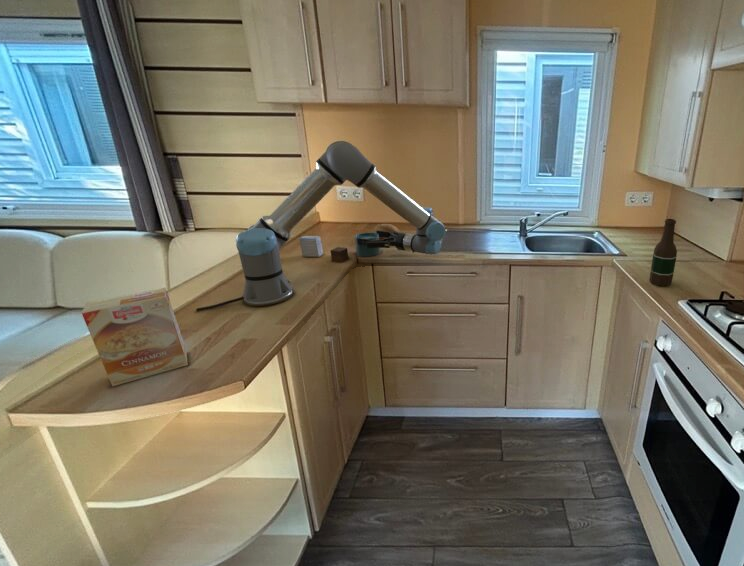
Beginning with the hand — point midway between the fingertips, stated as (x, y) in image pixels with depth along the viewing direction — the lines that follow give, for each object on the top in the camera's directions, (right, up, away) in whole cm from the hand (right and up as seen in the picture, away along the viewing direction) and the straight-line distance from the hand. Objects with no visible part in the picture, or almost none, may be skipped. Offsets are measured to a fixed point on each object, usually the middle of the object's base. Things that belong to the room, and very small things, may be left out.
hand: (367, 237), depth 184 cm
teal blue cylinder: (0, -7, +3) cm, 8 cm away
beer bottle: (+119, -21, -33) cm, 125 cm away
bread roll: (+3, +1, +23) cm, 23 cm away
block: (-10, -6, -8) cm, 14 cm away
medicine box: (-25, -9, 0) cm, 26 cm away
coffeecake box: (-30, -42, -82) cm, 97 cm away
